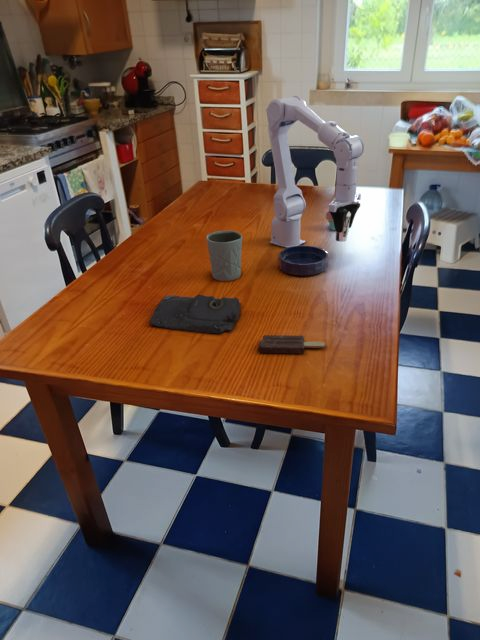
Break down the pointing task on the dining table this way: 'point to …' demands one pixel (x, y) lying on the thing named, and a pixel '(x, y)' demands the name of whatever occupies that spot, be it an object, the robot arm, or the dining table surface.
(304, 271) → the bowl
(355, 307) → the dining table surface
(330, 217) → the cupcake
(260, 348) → the ice cream bar
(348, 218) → the milkshake
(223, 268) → the grey green cup
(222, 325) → the black snap pouch
